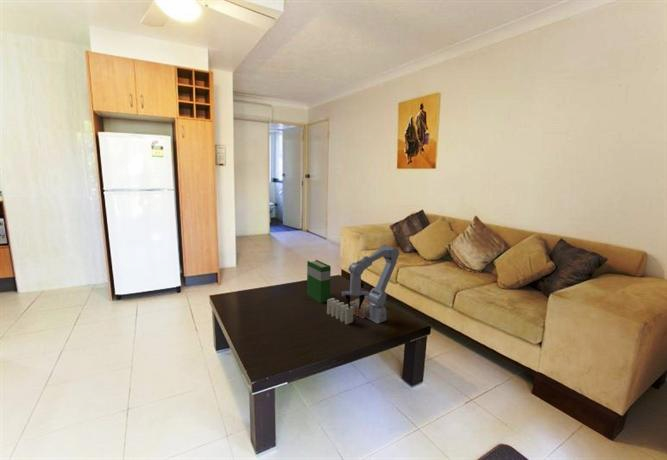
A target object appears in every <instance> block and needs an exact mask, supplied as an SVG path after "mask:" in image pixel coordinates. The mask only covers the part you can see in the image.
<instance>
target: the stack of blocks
mask: <svg viewBox="0 0 667 460" xmlns="http://www.w3.org/2000/svg"><path fill="white" fill-rule="evenodd" d="M351 306H352V307H353V316H354V315H355V316H357V317H359V318H361V319H365V318H366V317H368V316H370V303H369V300H368V296H365V299H364V301H363V302H362V305H361V309H359V297H357V298H356V299H353V300H350V307H351Z"/></svg>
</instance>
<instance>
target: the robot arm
mask: <svg viewBox="0 0 667 460" xmlns="http://www.w3.org/2000/svg"><path fill="white" fill-rule="evenodd" d="M399 256H400V250H399V248H397V247H393V246H390V245H387V244H383V245H381V246H380V247H379V249H378V250H377V251H375V252H374V253H372V254H371V255H370V256H367V255H366V256H363V257H362V258H361V259H359V260H357V261H356V262H352V263H350V264H349V267H348V268H347V269H348V271H349V275H350V279H349V281H350V285H349V290H345V291H341V297H345V299H346V302H347V304H348V308H349V309H350V302H351V296H355V297H357V296H358V298H359V309H361V305H362V302H363V301H364V299H365V296H368V300H369V303H370V315H369V316H367V317H365V318H366V319H368V320H370V321H372V322H374V323H376V324H381V323H383V322H385V321H387V308H386V307H384V305H385V304H386V299H387V297H388V296H387V292H386V289H387V286H388V285H389V281H390V279H391V277H392V274H393V272H394V269H395V267H396V264H397V261H398V258H399ZM381 258H383V259H384V260H385V265H384V267H383V269H382V271H381V275H380V276H379V279H378V282H377V284H376V286H374V287H373V288H371V290H370V291H364V290H361V287H362V286H361V284H362V283H361V282H362V274H364V273H363V272H364V271H365V270H366V269H368V268H369V267H371V266H372V265H373V263H374V262H375V261H377V260H379V259H381Z"/></svg>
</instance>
